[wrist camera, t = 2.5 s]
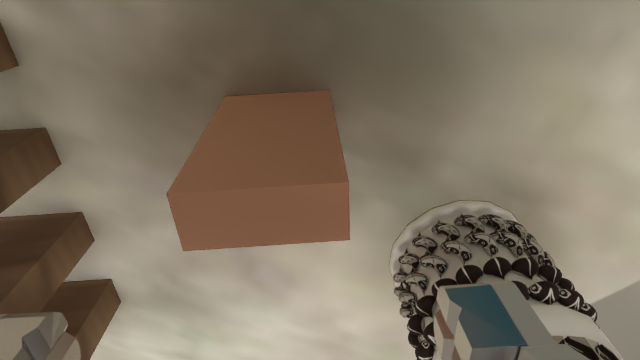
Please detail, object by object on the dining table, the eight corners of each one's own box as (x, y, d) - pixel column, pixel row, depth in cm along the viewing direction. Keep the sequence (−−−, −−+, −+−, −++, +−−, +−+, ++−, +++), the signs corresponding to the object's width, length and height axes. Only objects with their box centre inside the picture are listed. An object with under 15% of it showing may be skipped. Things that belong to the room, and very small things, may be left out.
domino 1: (29, 284, 24) (-107, 443, 16) (111, 279, 24) (14, 434, 16) (43, 307, 24) (-80, 467, 17) (120, 302, 25) (35, 459, 17)
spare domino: (225, 96, 18) (166, 194, 10) (329, 89, 18) (348, 182, 10) (232, 135, 19) (183, 251, 11) (330, 128, 19) (349, 239, 11)
